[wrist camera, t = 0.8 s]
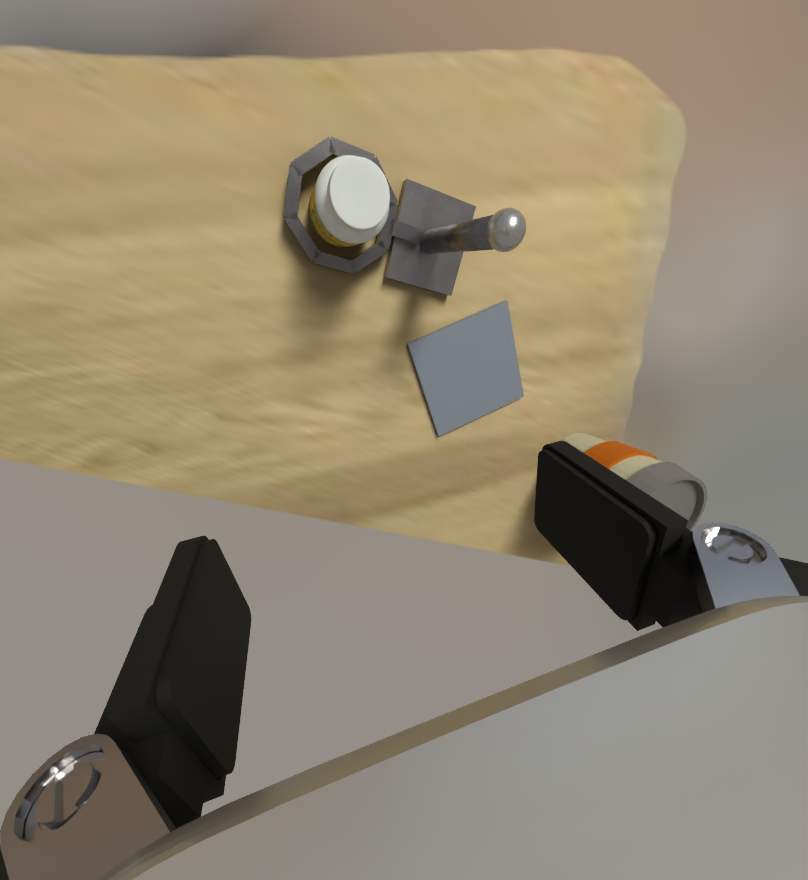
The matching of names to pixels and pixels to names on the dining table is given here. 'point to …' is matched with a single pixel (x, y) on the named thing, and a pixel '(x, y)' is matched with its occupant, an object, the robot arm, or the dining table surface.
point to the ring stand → (409, 227)
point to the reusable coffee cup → (648, 475)
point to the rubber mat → (468, 368)
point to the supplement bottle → (349, 201)
